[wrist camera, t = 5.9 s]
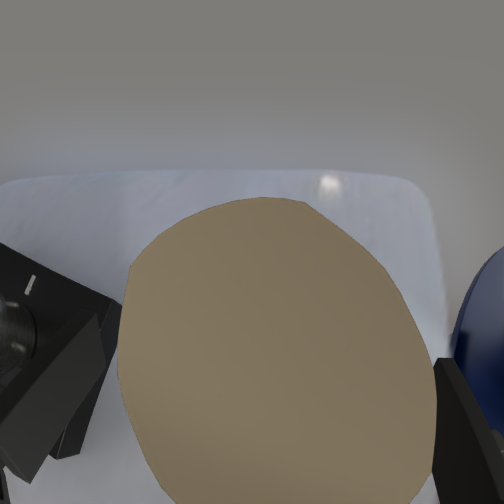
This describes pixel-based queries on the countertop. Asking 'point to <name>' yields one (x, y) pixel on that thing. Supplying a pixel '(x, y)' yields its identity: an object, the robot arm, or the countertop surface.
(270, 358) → the handle
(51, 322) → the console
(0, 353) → the dial
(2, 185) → the countertop surface
